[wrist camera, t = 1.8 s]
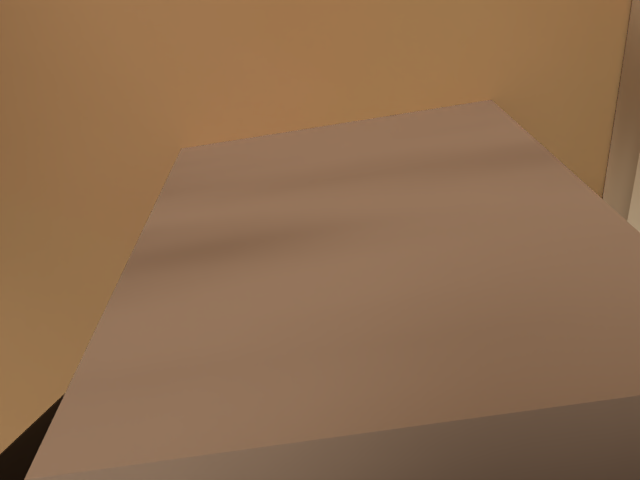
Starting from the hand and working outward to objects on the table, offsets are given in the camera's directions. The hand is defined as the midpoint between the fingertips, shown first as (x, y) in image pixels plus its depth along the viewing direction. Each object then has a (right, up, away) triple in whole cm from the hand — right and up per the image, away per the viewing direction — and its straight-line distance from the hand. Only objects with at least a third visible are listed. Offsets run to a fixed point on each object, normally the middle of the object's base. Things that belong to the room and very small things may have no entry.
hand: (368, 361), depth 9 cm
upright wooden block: (0, +1, +1) cm, 2 cm away
